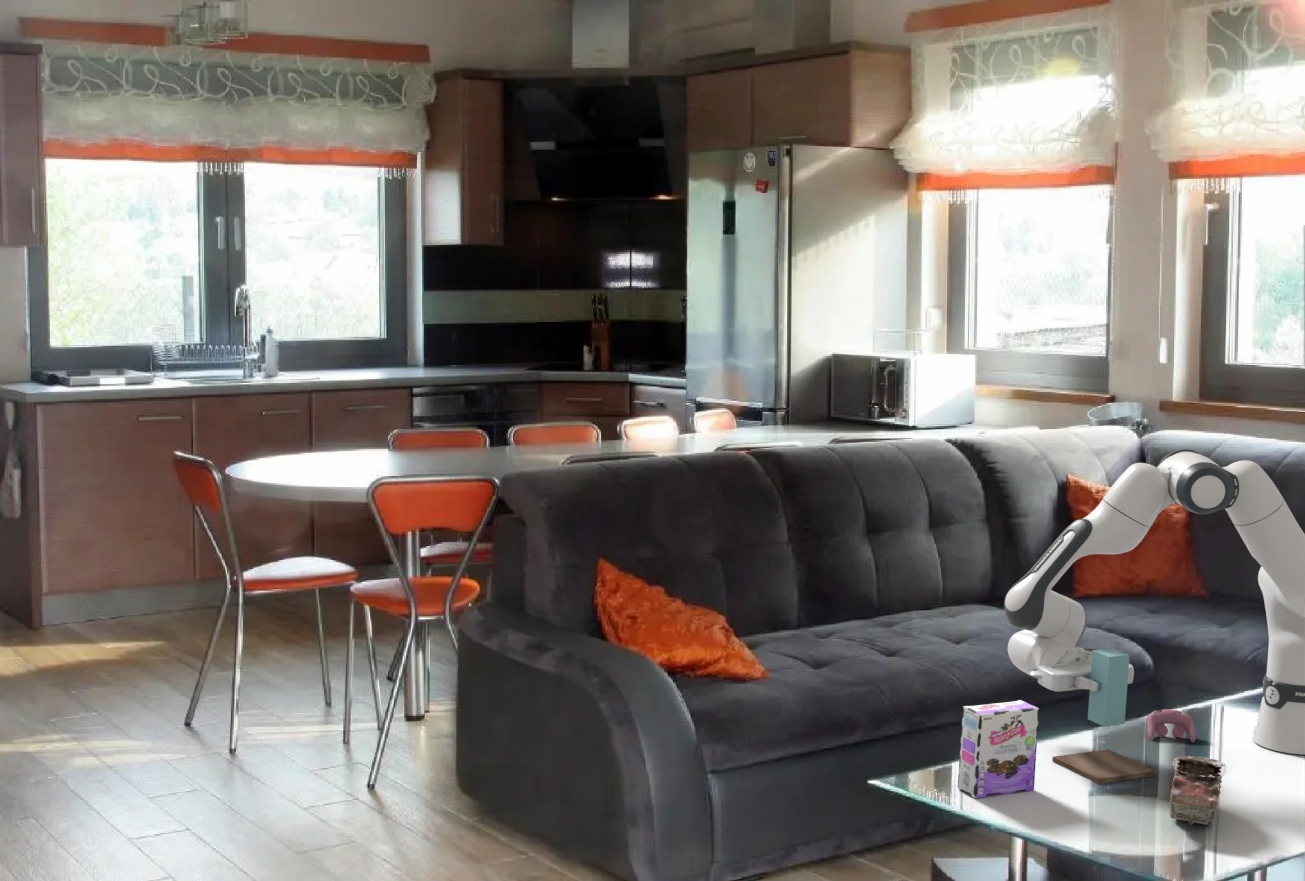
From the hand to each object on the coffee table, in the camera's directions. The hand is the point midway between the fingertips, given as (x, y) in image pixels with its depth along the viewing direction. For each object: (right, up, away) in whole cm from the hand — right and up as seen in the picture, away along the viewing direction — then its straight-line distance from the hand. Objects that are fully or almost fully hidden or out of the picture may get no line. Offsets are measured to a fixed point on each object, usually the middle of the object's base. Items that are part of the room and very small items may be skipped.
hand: (1111, 685), depth 329 cm
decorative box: (+10, -21, -24) cm, 34 cm away
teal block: (-1, -7, +2) cm, 8 cm away
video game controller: (+19, -15, +25) cm, 34 cm away
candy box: (-25, -18, -11) cm, 33 cm away
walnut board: (-1, -17, +3) cm, 17 cm away
